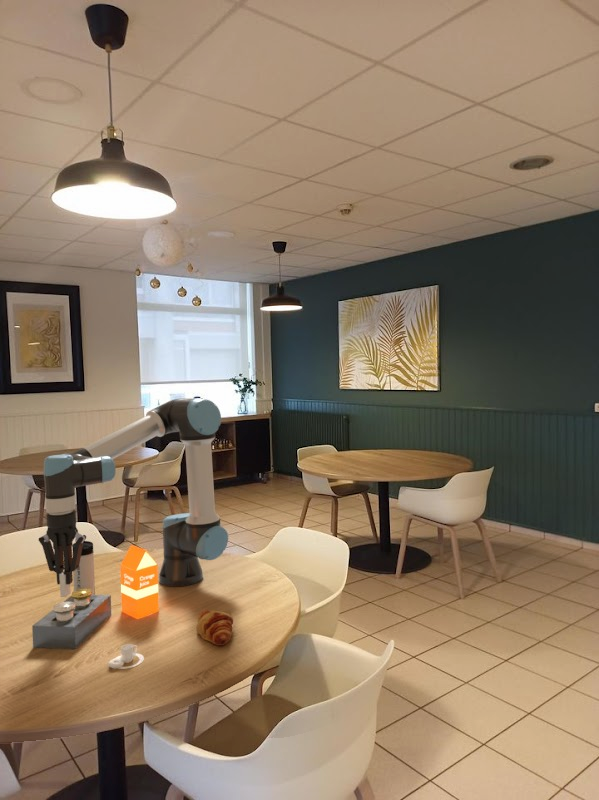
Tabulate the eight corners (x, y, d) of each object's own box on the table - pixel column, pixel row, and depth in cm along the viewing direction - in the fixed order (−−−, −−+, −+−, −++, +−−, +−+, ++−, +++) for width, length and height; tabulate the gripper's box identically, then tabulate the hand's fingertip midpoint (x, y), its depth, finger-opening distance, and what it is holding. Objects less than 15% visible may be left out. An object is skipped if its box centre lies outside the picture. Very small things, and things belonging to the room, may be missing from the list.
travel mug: (89, 598, 187) (87, 538, 186) (98, 604, 182) (96, 542, 181) (70, 604, 182) (68, 542, 182) (79, 610, 178) (77, 546, 177)
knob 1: (80, 629, 161) (79, 601, 161) (70, 638, 156) (69, 609, 155) (61, 629, 162) (60, 601, 162) (50, 638, 156) (49, 609, 156)
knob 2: (96, 614, 171) (95, 588, 171) (87, 622, 166) (86, 595, 165) (78, 614, 172) (77, 588, 171) (69, 622, 166) (68, 595, 166)
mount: (111, 614, 174) (110, 595, 174) (75, 649, 152) (74, 627, 152) (73, 613, 175) (73, 594, 175) (33, 647, 154) (32, 625, 153)
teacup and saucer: (109, 674, 140) (108, 657, 140) (106, 659, 147) (106, 644, 147) (146, 666, 143) (145, 650, 143) (141, 652, 151) (141, 637, 150)
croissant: (197, 632, 169) (183, 611, 167) (225, 611, 172) (213, 590, 171) (215, 663, 149) (200, 639, 148) (247, 639, 153) (233, 615, 151)
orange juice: (136, 619, 170) (134, 553, 170) (121, 611, 176) (119, 547, 176) (159, 611, 176) (157, 547, 175) (143, 603, 182) (141, 541, 181)
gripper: (90, 508, 160) (94, 590, 162) (46, 508, 162) (50, 589, 163) (76, 514, 153) (81, 601, 154) (30, 515, 154) (35, 600, 156)
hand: (65, 595), depth 159 cm, fingers closed
